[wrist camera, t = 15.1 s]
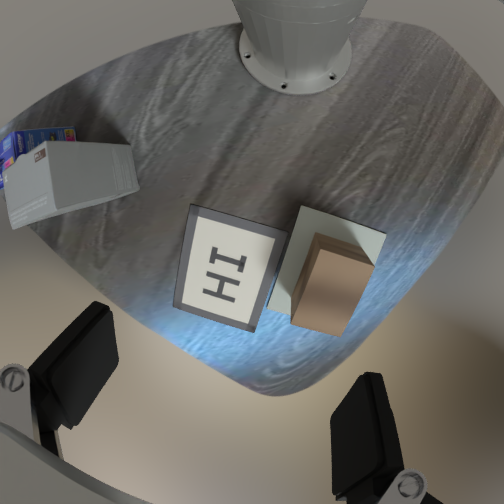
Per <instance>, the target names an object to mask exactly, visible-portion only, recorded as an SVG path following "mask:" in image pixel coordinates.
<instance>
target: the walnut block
mask: <svg viewBox="0 0 504 504" xmlns="http://www.w3.org/2000/svg"><path fill="white" fill-rule="evenodd" d="M374 268H375V266H374V264H373V263H372V261H371V260H370V259H369V257H368V256H367V254H366V253H365V251H364V250H363V249H362V247H359V246H357V245H354V244H351V243H348V242H345V241H342V240H339V239H336V238H333V237H329V236H326V235H323V234H320V233H317V232H315V234H314V237H313V240H312V243H311V245H310V248H309V251H308V254H307V256H306V259H305V262H304V265H303V267H302V270H301V273H300V275H299V278H298V281H297V283H296V286H295V289H294V291H293V294H292V296H291V324H292V325H295V326H299V327H303V328H307V329H310V330H314V331H318V332H322V333H326V334H330V335H334V336H338V337H341V335H342V333H343V331H344V330H345V328H346V326H347V324H348V322H349V320H350V318H351V316H352V314H353V312H354V310H355V308H356V306H357V304H358V302H359V300H360V298H361V296H362V294H363V292H364V290H365V288H366V285H367V283H368V281H369V279H370V277H371V274H372V272H373V270H374Z"/></svg>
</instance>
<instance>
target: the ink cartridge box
mask: <svg viewBox="0 0 504 504" xmlns="http://www.w3.org/2000/svg"><path fill="white" fill-rule="evenodd" d="M44 141H76V133H75V127H54V128H40V129H29V130H19V131H13V132H11V133H10V134H9V135H7V136H6V137H5V138H4V139H3V140H2V141H1V142H0V190H1V189H4V183H3V176H2V172H3V171H4V170H5V169H6V168H7V167H9V166H10V165H11V164H12V163H14V162H15V161H16V160H17V158H18V157H19V156H20V155H21V154H27V153H28V152H29V151H31V150H32V149H34V148H35V147H37V146H38V145H40V144H41V143H43V142H44Z"/></svg>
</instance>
